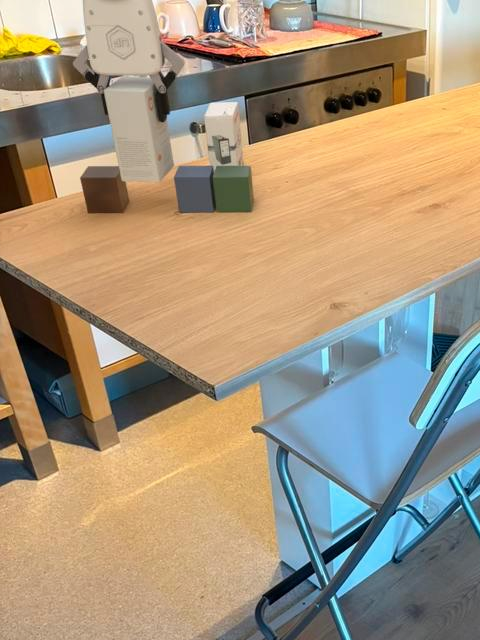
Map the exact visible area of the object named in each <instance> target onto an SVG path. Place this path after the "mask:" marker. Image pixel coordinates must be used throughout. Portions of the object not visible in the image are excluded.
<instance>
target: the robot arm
mask: <svg viewBox="0 0 480 640" xmlns="http://www.w3.org/2000/svg"><path fill="white" fill-rule="evenodd" d="M82 12H83V23H84V32H85V33H84V34H85V40H86V45H85V46H84V48H83V49H82V50H81V51H80V53H78V55H77V57H76V58H74V59H73V61H72V66H73V68H74V69H76V70H77V72H79V73H80V74H81V75H82V76H83V77H84V78H85V80H86V81H87V82H88V83H89V84H91V86H93V88H95V89H96V90H97V92H98V93H99V94H100V96H101V102H102V107H103V111H104V115H105V116H108V117H109V115H108V110H107V105H106V100H105V95H104V91H103V90H105V89H106V88H107V87H109V86H110V85H111V80H112V76H149V77H150V78H151V79H152V81H153V83H154V84H155V86H156V89H157V92H156V94H155V98H156V104H157V110H158V116H159V121H161V122H165V120H166V119H167V120H168V116H169V115H171V109H170V107H171V106H170V101H169V94H168V89H169V88H170V87H171V86H172V84H173V82H175V80H176V79H177V77H178V75H179V74H180V73H181V72H182V69H183V68H184V66H185V64H186V61H185V60H184V59H183V58H182V57H181V56H180V55H179V54H177V53H176V52H175V51H174V50H173V49H171V47H169V46H168V45H167V44H166V43H165V42H164V41H163V38H162V35H161V30H160V25H159V20H158V17H157V13H156V9H155V6H154V2H153V0H82ZM88 60H89V64H90V66H89V65H88ZM166 60H167V61H168V62H169V63H170V64H171V68H170V69H169V71H168V72H167V73H166V75H164V73H163V72H162V69H163V67H164V66H165V63H166ZM108 120H109V119H108ZM109 122H110V120H109Z"/></svg>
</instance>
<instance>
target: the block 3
mask: <svg viewBox="0 0 480 640" xmlns="http://www.w3.org/2000/svg"><path fill="white" fill-rule="evenodd" d="M213 184H214V192H215V200H216V206H215V209H216V212H217V213H252V210H253V204H254V201H255V199H254V198H255V197H254V188H253V187H254V186H253V176H252V166H251V165H244V166H216V169H215V172H214V175H213Z"/></svg>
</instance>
